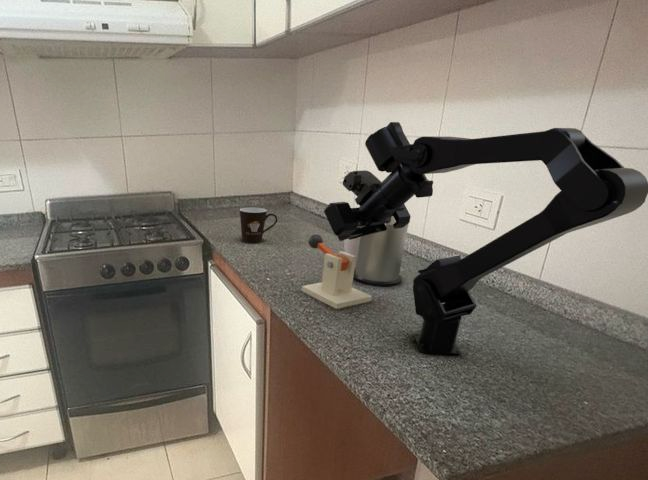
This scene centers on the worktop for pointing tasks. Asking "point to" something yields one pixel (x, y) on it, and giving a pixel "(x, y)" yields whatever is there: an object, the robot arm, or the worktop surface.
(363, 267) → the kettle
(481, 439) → the worktop surface
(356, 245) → the smoothie
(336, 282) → the knobbed lever stand
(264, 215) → the coffee mug
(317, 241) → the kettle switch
